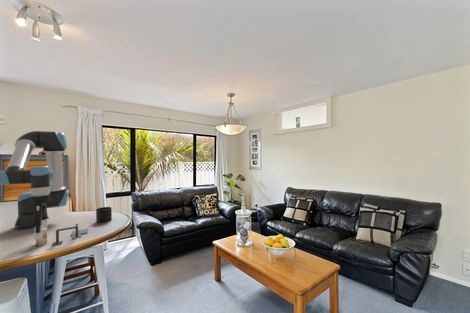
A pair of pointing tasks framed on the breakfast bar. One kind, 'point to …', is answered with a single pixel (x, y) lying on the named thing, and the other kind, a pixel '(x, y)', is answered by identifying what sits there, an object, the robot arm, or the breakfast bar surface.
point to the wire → (65, 229)
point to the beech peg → (44, 238)
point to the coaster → (80, 232)
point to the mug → (103, 214)
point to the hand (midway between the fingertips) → (41, 235)
